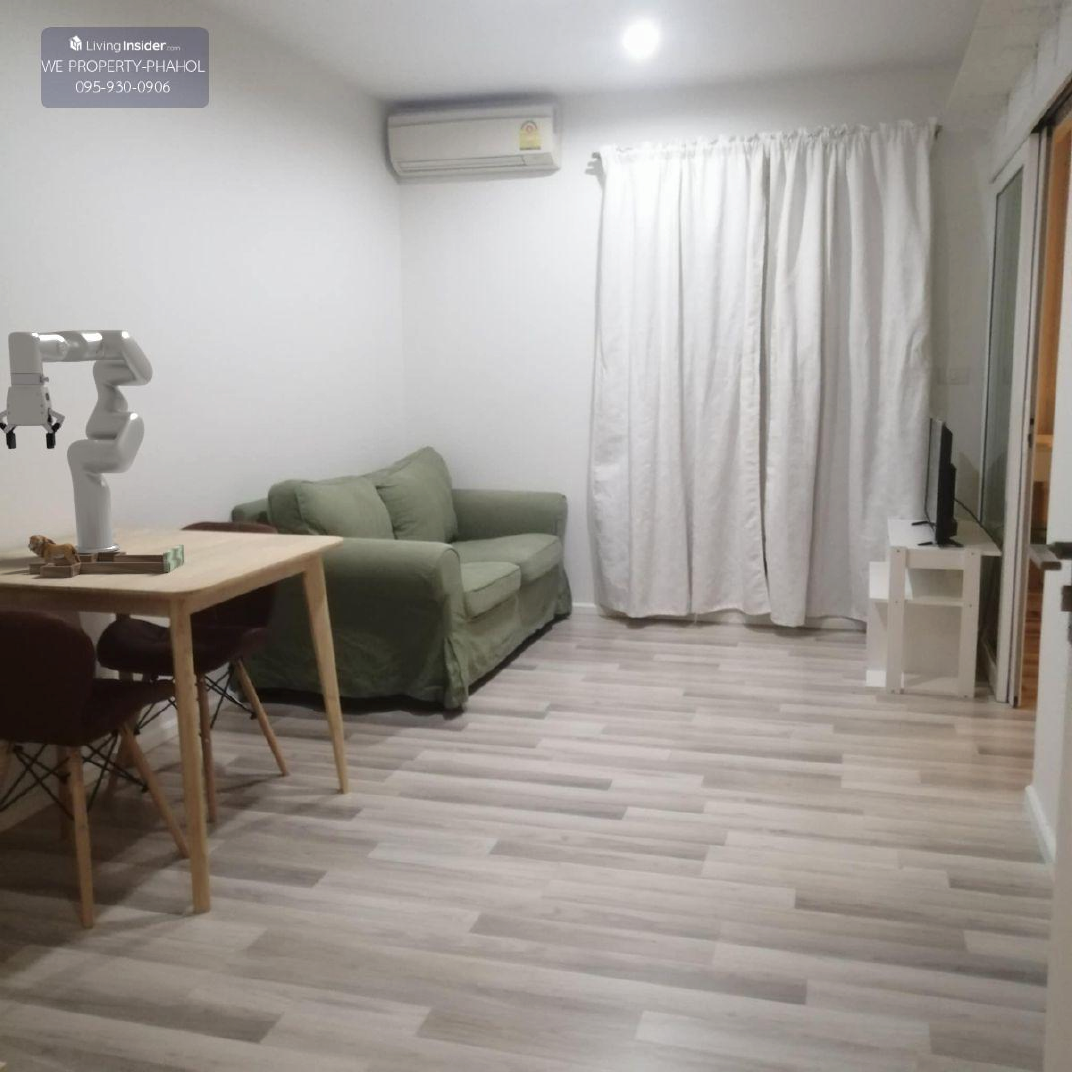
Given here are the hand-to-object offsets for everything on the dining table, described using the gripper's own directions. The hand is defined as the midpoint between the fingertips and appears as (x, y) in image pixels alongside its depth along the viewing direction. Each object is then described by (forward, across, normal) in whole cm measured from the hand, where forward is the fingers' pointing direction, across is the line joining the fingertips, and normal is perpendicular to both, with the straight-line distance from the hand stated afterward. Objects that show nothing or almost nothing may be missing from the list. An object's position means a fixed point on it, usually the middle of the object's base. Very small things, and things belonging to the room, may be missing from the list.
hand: (31, 448), depth 266 cm
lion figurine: (+31, -5, +1) cm, 32 cm away
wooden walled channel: (+31, -18, +2) cm, 36 cm away
